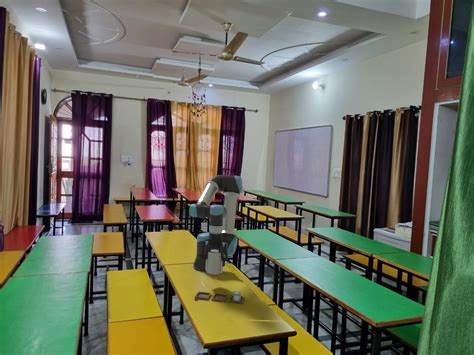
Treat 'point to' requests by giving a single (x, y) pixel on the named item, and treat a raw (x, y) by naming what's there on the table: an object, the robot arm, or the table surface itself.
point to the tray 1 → (202, 295)
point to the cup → (214, 262)
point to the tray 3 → (236, 301)
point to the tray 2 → (219, 297)
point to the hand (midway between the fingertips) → (214, 271)
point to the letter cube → (236, 296)
